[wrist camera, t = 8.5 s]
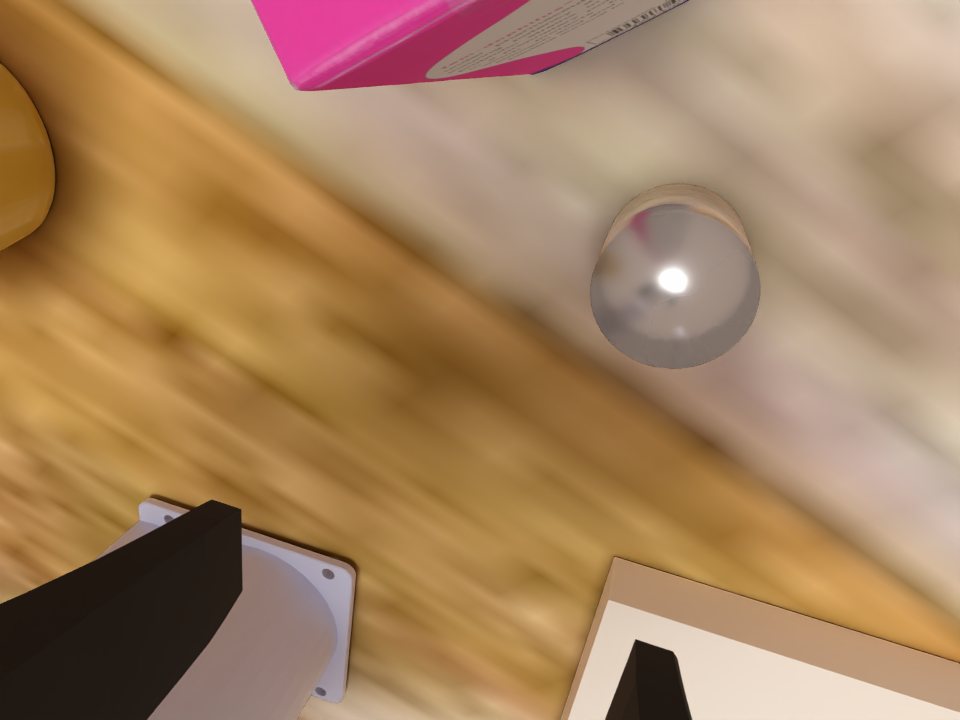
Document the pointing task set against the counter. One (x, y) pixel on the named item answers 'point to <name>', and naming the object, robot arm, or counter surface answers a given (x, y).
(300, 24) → the supplement box
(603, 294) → the short steel pin
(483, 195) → the counter surface
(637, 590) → the hole board
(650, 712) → the robot arm
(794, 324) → the counter surface
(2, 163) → the plant pot
